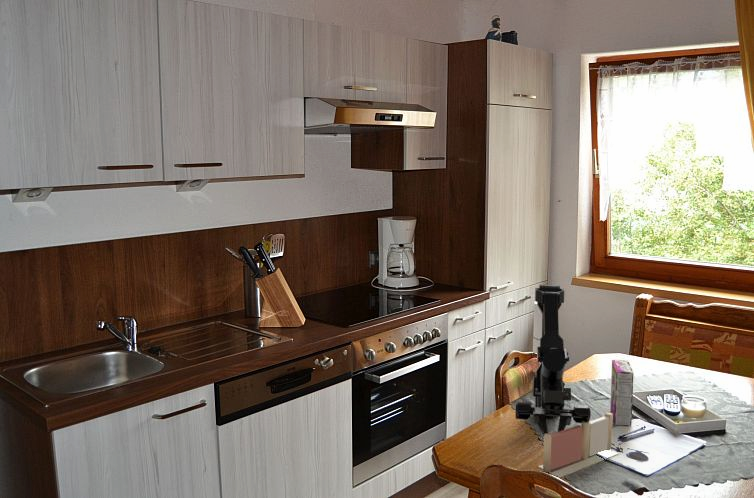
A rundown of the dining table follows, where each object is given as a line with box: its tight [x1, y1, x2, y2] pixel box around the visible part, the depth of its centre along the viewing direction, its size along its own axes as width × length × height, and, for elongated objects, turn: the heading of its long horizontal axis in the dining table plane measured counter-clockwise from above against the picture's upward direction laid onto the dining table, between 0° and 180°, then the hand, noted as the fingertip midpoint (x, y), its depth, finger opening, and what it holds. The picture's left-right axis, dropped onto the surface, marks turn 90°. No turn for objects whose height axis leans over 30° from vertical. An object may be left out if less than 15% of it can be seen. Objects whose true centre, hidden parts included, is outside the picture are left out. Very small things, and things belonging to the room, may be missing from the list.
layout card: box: [537, 454, 605, 479], centre depth 182 cm, size 23×7×1 cm, turn 124°
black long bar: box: [532, 300, 542, 354], centre depth 248 cm, size 7×7×25 cm
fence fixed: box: [581, 412, 614, 460], centre depth 185 cm, size 11×2×10 cm, turn 124°
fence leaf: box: [542, 424, 583, 473], centre depth 178 cm, size 13×2×9 cm, turn 122°
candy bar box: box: [609, 359, 634, 427], centre depth 207 cm, size 11×5×16 cm, turn 168°
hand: (552, 445), depth 179 cm, fingers open, 2 cm apart
